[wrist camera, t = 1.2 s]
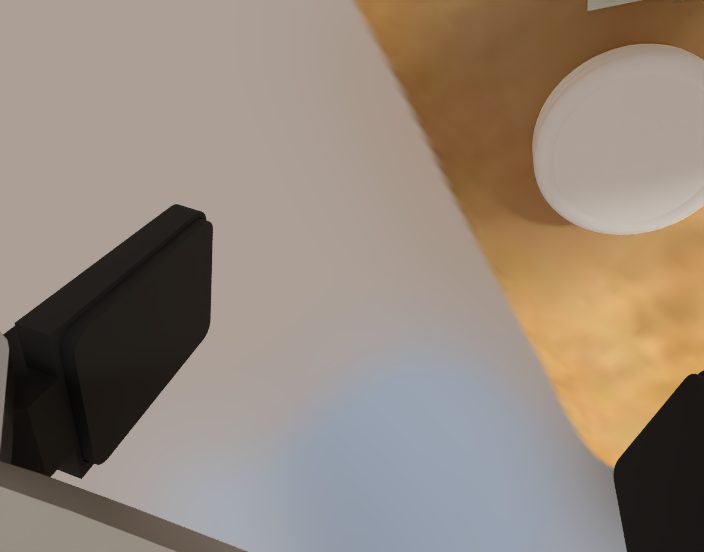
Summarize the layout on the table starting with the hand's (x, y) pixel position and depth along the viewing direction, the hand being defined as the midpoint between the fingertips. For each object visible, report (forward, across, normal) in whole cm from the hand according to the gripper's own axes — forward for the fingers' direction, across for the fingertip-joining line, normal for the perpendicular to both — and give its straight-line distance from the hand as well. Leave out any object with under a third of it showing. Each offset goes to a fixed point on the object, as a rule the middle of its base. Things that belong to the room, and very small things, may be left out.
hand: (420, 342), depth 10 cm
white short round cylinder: (+25, -9, +1) cm, 26 cm away
